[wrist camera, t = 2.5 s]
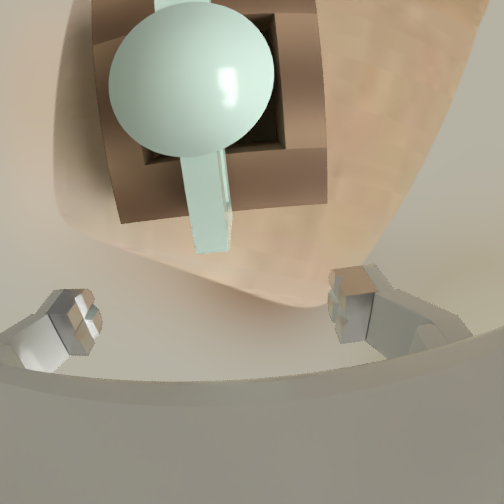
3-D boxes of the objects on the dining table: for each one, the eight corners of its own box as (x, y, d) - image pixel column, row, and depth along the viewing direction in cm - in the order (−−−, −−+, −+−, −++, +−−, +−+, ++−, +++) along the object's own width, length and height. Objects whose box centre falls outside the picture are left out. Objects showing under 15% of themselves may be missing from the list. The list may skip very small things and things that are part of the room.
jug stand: (116, 14, 14) (91, 0, 10) (297, -11, 14) (309, -33, 10) (140, 202, 20) (121, 224, 17) (312, 184, 20) (327, 203, 17)
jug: (160, 38, 15) (103, -1, 7) (254, 25, 15) (262, -31, 7) (181, 198, 20) (143, 263, 12) (268, 189, 20) (286, 250, 12)
